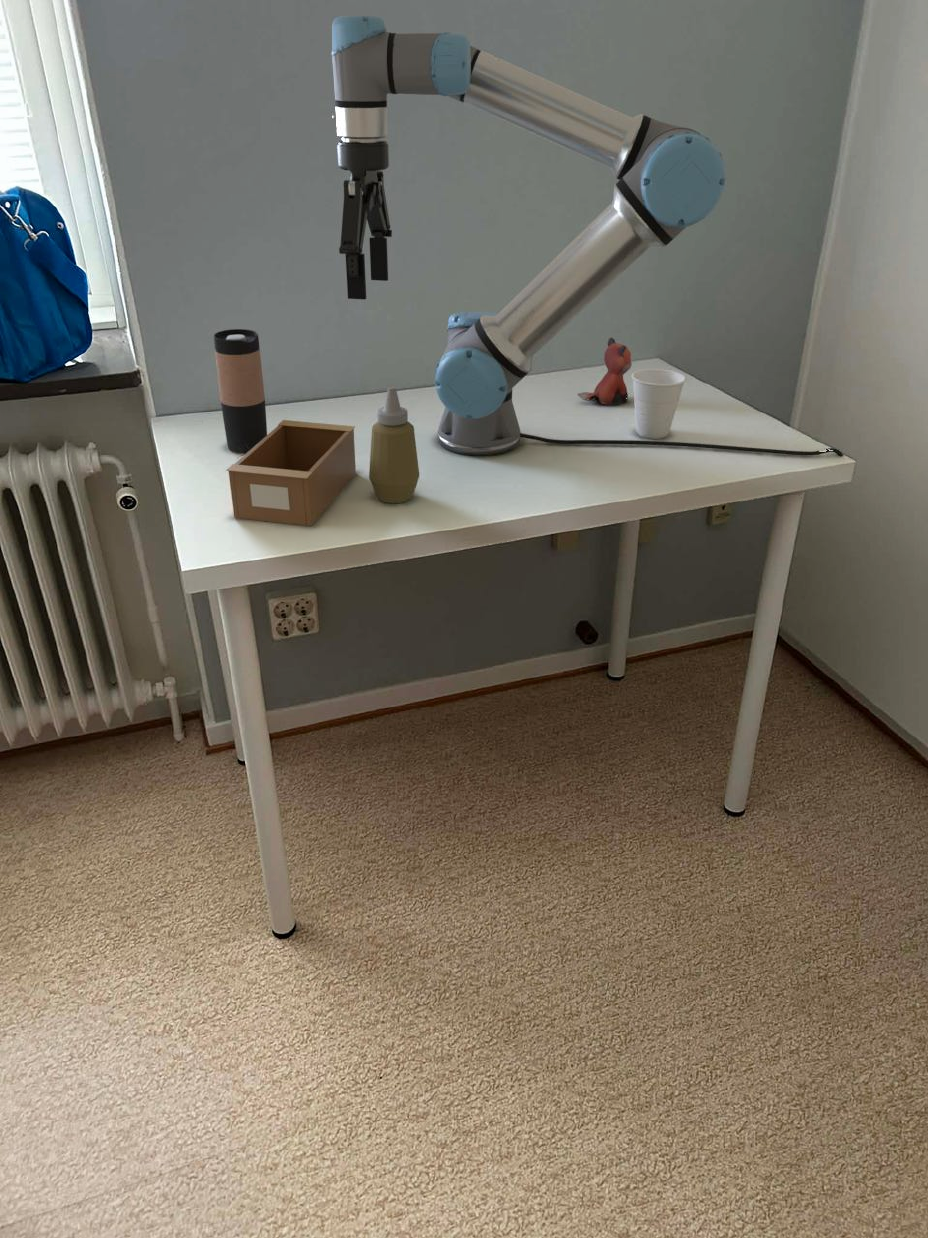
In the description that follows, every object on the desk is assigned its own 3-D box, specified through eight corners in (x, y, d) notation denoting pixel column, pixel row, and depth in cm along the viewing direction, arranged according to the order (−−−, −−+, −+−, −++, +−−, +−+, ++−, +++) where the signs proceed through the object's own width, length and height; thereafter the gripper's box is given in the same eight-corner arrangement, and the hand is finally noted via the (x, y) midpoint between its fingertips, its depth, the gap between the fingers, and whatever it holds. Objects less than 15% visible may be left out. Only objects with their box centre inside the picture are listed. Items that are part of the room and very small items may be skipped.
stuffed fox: (569, 398, 199) (573, 340, 193) (615, 392, 203) (621, 335, 197) (588, 409, 193) (593, 350, 187) (635, 403, 197) (642, 344, 191)
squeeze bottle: (412, 509, 151) (411, 397, 142) (363, 504, 152) (358, 393, 143) (425, 489, 158) (423, 381, 149) (377, 484, 159) (373, 377, 150)
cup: (620, 438, 179) (625, 380, 174) (632, 421, 187) (638, 365, 181) (672, 446, 176) (680, 387, 170) (683, 429, 184) (691, 372, 178)
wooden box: (357, 471, 164) (355, 426, 160) (310, 528, 145) (306, 478, 141) (287, 464, 166) (283, 419, 162) (232, 519, 147) (226, 469, 143)
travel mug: (229, 438, 176) (216, 328, 166) (271, 438, 177) (260, 328, 167) (223, 454, 170) (209, 340, 160) (267, 453, 170) (256, 340, 160)
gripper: (360, 132, 152) (366, 271, 163) (311, 146, 131) (322, 305, 142) (406, 133, 151) (409, 273, 162) (364, 147, 130) (371, 308, 141)
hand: (368, 289), depth 152 cm, fingers open, 13 cm apart
